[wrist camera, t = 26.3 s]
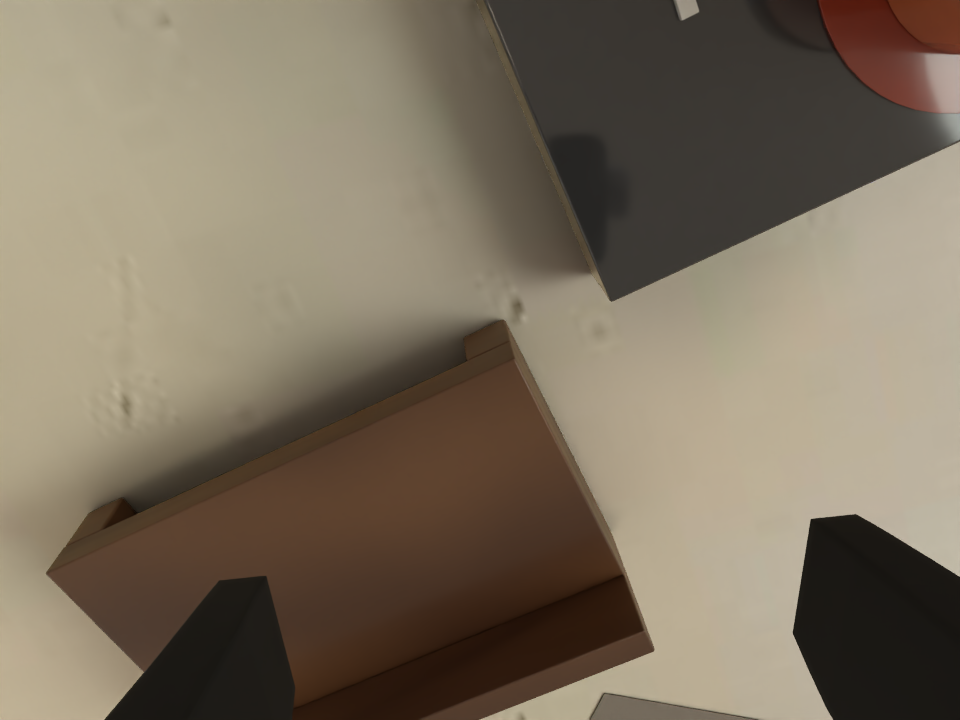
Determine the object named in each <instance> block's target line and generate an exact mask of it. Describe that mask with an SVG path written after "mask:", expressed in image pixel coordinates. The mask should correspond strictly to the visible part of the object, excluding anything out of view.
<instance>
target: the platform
mask: <svg viewBox="0 0 960 720" xmlns="http://www.w3.org/2000/svg"><path fill="white" fill-rule="evenodd" d="M591 720H754V719H748V718H743V717H737V716H731V715H725V714H720V713H714V712H708V711H702V710H697V709H691V708H685V707H679V706H674V705H668V704H662V703H656V702H651V701H645V700H639V699H633V698H627V697H622V696H616V695H610V694H604V696H603V697H602V699H601V701H600V703H599V705H598V707H597V709H596V710H595V712H594V714H593V716H592V718H591Z"/></svg>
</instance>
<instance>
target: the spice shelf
mask: <svg viewBox="0 0 960 720" xmlns="http://www.w3.org/2000/svg"><path fill="white" fill-rule="evenodd" d="M464 346H465V354H466V362H465V363H463V364H460V365H458V366H456V367H454V368H452V369H450V370H447V371H445V372H443V373H441V374H439V375H437V376H434V377H432V378H430V379H428V380H426V381H424V382H421V383H419V384H417V385H415V386H413V387H411V388H408V389H406V390H404V391H402V392H400V393H398V394H395V395H393V396H391V397H389V398H387V399H385V400H383V401H380V402H378V403H376V404H374V405H372V406H370V407H367V408H365V409H363V410H361V411H359V412H357V413H354V414H352V415H350V416H348V417H346V418H344V419H341V420H339V421H337V422H335V423H333V424H331V425H328V426H326V427H324V428H322V429H320V430H318V431H315V432H313V433H311V434H309V435H307V436H305V437H303V438H300V439H298V440H296V441H294V442H292V443H290V444H287V445H285V446H283V447H281V448H279V449H277V450H274V451H272V452H270V453H268V454H266V455H264V456H261V457H259V458H257V459H255V460H253V461H251V462H248V463H246V464H244V465H242V466H240V467H238V468H235V469H233V470H231V471H229V472H227V473H225V474H223V475H220V476H218V477H216V478H214V479H212V480H210V481H207V482H205V483H203V484H201V485H199V486H197V487H194V488H192V489H190V490H188V491H186V492H184V493H181V494H179V495H177V496H175V497H173V498H171V499H168V500H166V501H164V502H162V503H160V504H158V505H155V506H153V507H151V508H149V509H147V510H145V511H143V512H140V513H138V514H137V513H136V512H135V511H134V510H133V509H132V508H131V506H130V505H129V504H128V503H127V502H126V501H125V500H124V499H123V498H120V499H118V500H116V501H114V502H111V503H109V504H107V505H105V506H103V507H101V508H99V509H96V510H94V511H92V512H90V513H89V514H88V515H87V516H86V518H85V519H84V521H83V522H82V523H81V525H80V526H79V528H78V529H77V531H76V532H75V533H74V535H73V536H72V538H71V539H70V541H69V542H68V543H67V545H66V547H65V548H63V550H62V551H61V552H60V554H59V555H58V557H57V558H56V560H55V561H54V562H53V564H52V565H51V567H50V568H49V570H48V571H47V572H46V574H47V575H48V576H49V577H50V578H51V579H52V580H53V581H54V582H55V583H56V584H57V585H58V586H59V587H60V588H61V589H62V590H63V591H64V592H65V593H66V594H67V595H68V596H69V597H70V598H71V599H72V600H73V601H74V602H75V603H76V604H77V605H78V606H79V607H80V608H81V609H82V610H83V611H84V612H85V613H86V614H87V615H88V616H89V617H90V618H91V619H92V620H93V621H94V622H95V624H96V625H97V626H98V627H99V628H100V629H101V630H102V631H103V632H104V633H105V634H106V635H107V636H108V637H109V638H110V639H111V640H112V641H113V642H114V643H115V644H116V645H117V646H118V647H119V648H120V649H121V650H122V651H123V652H124V653H125V654H126V655H127V656H128V657H129V658H130V659H131V660H132V661H133V662H134V663H135V664H136V665H137V666H138V667H139V668H140V669H141V670H142V671H143V672H145V671H146V670H147V668H148V667H149V666H150V665H151V663H152V662H153V661H154V660H155V658H156V657H157V656H158V655H159V654H160V652H161V651H162V650H163V649H164V647H165V646H166V645H167V644H168V642H169V641H170V640H171V639H172V637H173V636H174V635H175V634H176V632H177V631H178V630H179V629H180V627H181V626H182V625H183V624H184V622H185V621H186V620H187V619H188V617H189V616H190V615H191V614H192V612H193V611H194V610H195V609H196V607H197V606H198V605H199V604H200V603H201V601H202V600H203V599H204V598H205V597H206V595H207V594H208V593H209V592H210V590H211V589H212V588H213V587H214V586H215V585H216V584H217V582H218V581H219V580H228V579H238V578H247V577H257V576H267V580H268V584H269V588H270V592H271V596H272V599H273V603H274V607H275V611H276V615H277V619H278V623H279V626H280V630H281V634H282V638H283V642H284V646H285V649H286V653H287V657H288V661H289V665H290V669H291V672H292V676H293V680H294V684H295V696H294V705H293V715H292V720H480V719H482V718H485V717H487V716H490V715H492V714H495V713H497V712H500V711H503V710H505V709H508V708H510V707H513V706H515V705H518V704H520V703H523V702H526V701H528V700H531V699H533V698H536V697H538V696H541V695H543V694H546V693H549V692H551V691H554V690H556V689H559V688H561V687H564V686H567V685H569V684H572V683H574V682H577V681H579V680H582V679H584V678H587V677H590V676H592V675H595V674H597V673H600V672H602V671H605V670H607V669H610V668H613V667H615V666H618V665H620V664H623V663H625V662H628V661H630V660H633V659H636V658H638V657H641V656H643V655H646V654H648V653H651V652H653V651H654V646H653V644H652V641H651V638H650V636H649V633H648V630H647V627H646V625H645V622H644V619H643V617H642V614H641V611H640V608H639V606H638V603H637V600H636V598H635V595H634V593H633V590H632V587H631V584H630V581H629V579H628V576H627V573H626V571H625V568H624V566H623V563H622V560H621V557H620V555H619V552H618V549H617V546H616V544H615V541H614V538H613V536H612V533H611V531H610V529H609V527H608V525H607V523H606V521H605V519H604V517H603V515H602V513H601V511H600V509H599V507H598V505H597V503H596V501H595V499H594V497H593V495H592V493H591V491H590V489H589V487H588V485H587V483H586V481H585V479H584V477H583V475H582V473H581V471H580V469H579V467H578V465H577V463H576V461H575V459H574V457H573V455H572V453H571V451H570V449H569V447H568V445H567V443H566V441H565V439H564V437H563V435H562V433H561V431H560V429H559V427H558V425H557V423H556V421H555V419H554V417H553V415H552V413H551V411H550V409H549V407H548V405H547V403H546V401H545V399H544V397H543V395H542V393H541V391H540V389H539V387H538V385H537V383H536V381H535V379H534V377H533V375H532V373H531V371H530V369H529V367H528V365H527V363H526V361H525V359H524V357H523V355H522V353H521V351H520V349H519V347H518V345H517V343H516V341H515V339H514V337H513V335H512V333H511V331H510V329H509V327H508V325H507V323H506V321H505V320H500V321H498V322H496V323H494V324H492V325H490V326H488V327H485V328H483V329H481V330H479V331H477V332H475V333H473V334H470V335H468V336H466V337H465V338H464Z"/></svg>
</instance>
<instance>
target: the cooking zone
mask: <svg viewBox="0 0 960 720" xmlns="http://www.w3.org/2000/svg"><path fill="white" fill-rule="evenodd" d="M817 4H818V7H819V11H820V14H821V17H822V21H823V24H824V27H825V29H826V32H827V34H828V36H829V38H830V40H831V42H832V44H833V47H834V49H835V50H836V52H837V53H838V55H839V56H840V58H841V59H842V61H843V62H844V64H845V65H846V66H847V68H848V69H849V70H850V71H851V72H852V73H853V74H854V75H855V76H856V77H857V78H858V79H859V80H860V82H862V83H863V84H864V85H866V86H867V87H868V88H870V89H871V90H872V91H873V92H875V93H876V94H878V95H880V96H881V97H883V98H885V99H887V100H889V101H891V102H893V103H895V104H898V105H901V106H904V107H907V108H910V109H913V110H919V111H925V112H931V113H955V114H958V113H960V55H957V54H951V53H945V52H942V51H939V50H937V49H934V48H931V47H929V46H928V45H926V44H924V43H922V42H920V41H919V40H918V39H916V38H915V37H914V36H913V35H912V34H910V33H909V32H908V31H907V30H906V28H905V27H904V26H903V25H902V24H901V23H900V22H899V20H898V19H897V17H896V15H895V14H894V12H893V11H892V9H891V7H890V5H889V2H888V0H817Z"/></svg>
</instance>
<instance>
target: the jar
mask: <svg viewBox="0 0 960 720" xmlns="http://www.w3.org/2000/svg"><path fill="white" fill-rule="evenodd" d="M888 2H889V5H890V7H891V9H892V11H893V12H894V14H895V15H896V17H897V19H898V20H899V22H900V23H901V24H902V25H903V26H904V27H905V28H906V30H907V31H908V32H909V33H910V34H912V35H913V36H914V37H915V38H916V39H918V40H919V41H920V42H922V43H924V44H926V45H928V46H929V47H931V48H934V49H937V50H939V51H942V52H945V53H951V54H957V55H960V0H888Z"/></svg>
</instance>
